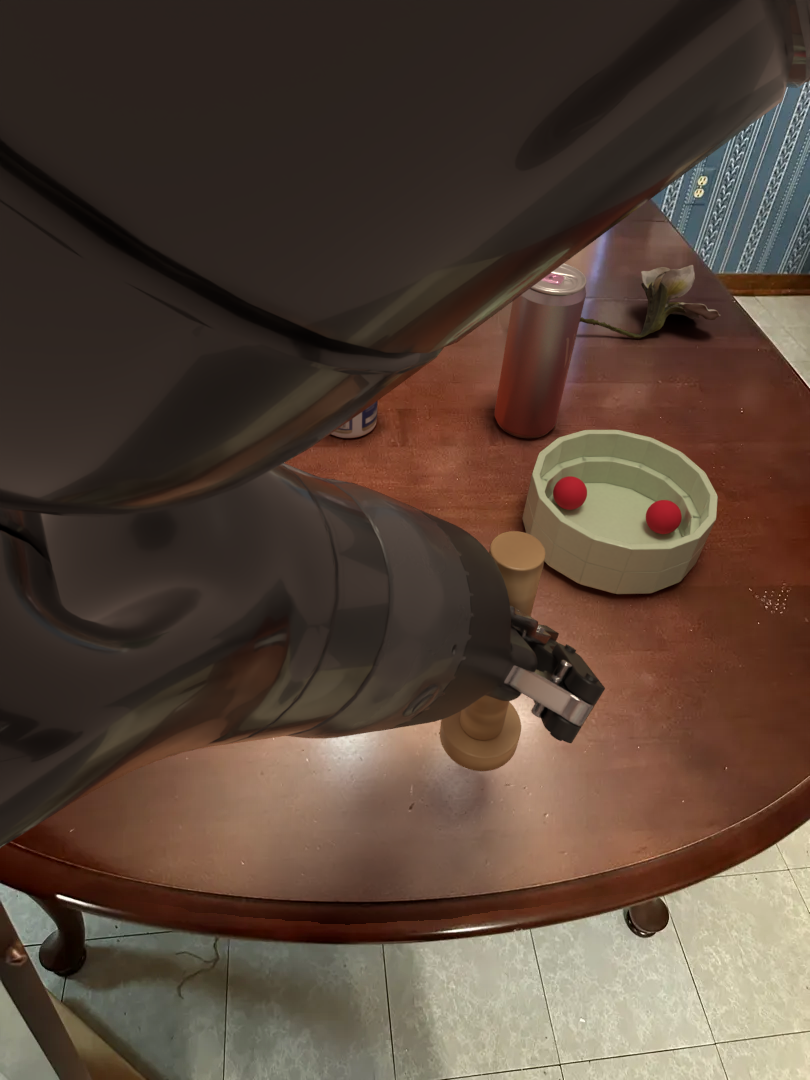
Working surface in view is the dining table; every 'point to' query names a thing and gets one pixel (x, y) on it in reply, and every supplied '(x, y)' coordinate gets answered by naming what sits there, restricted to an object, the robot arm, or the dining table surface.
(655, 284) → the artificial flower
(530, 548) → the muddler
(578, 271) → the beverage can
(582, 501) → the red ball
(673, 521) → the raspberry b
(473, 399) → the dining table surface
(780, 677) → the dining table surface
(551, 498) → the bowl
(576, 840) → the dining table surface
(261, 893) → the dining table surface
